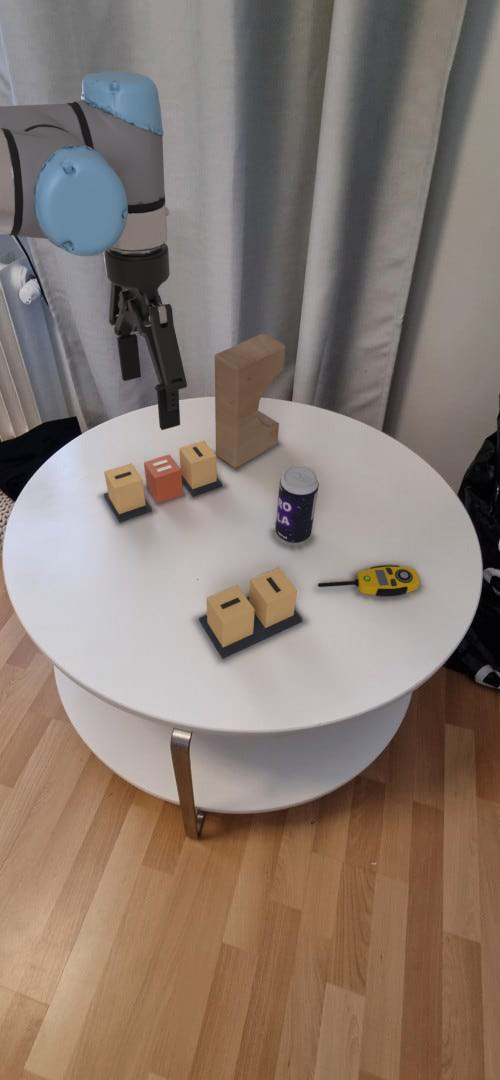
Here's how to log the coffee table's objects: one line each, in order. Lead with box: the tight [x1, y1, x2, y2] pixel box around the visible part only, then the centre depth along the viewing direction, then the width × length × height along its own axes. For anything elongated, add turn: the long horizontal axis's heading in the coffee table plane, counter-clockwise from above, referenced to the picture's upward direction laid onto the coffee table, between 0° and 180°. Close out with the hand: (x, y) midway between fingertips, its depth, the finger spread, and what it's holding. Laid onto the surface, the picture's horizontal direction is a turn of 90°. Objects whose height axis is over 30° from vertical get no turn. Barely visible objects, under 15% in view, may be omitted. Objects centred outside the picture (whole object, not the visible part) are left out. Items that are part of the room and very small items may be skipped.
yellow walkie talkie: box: [317, 564, 421, 597], centre depth 85 cm, size 5×2×15 cm
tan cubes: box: [103, 440, 224, 523], centre depth 96 cm, size 19×7×6 cm, turn 120°
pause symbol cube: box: [143, 454, 184, 504], centre depth 97 cm, size 5×5×6 cm
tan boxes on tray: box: [198, 567, 303, 660], centre depth 79 cm, size 12×7×6 cm, turn 120°
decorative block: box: [214, 332, 286, 469], centre depth 100 cm, size 11×6×20 cm, turn 133°
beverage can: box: [275, 464, 320, 544], centre depth 88 cm, size 6×6×12 cm
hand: (149, 401), depth 83 cm, fingers open, 13 cm apart
